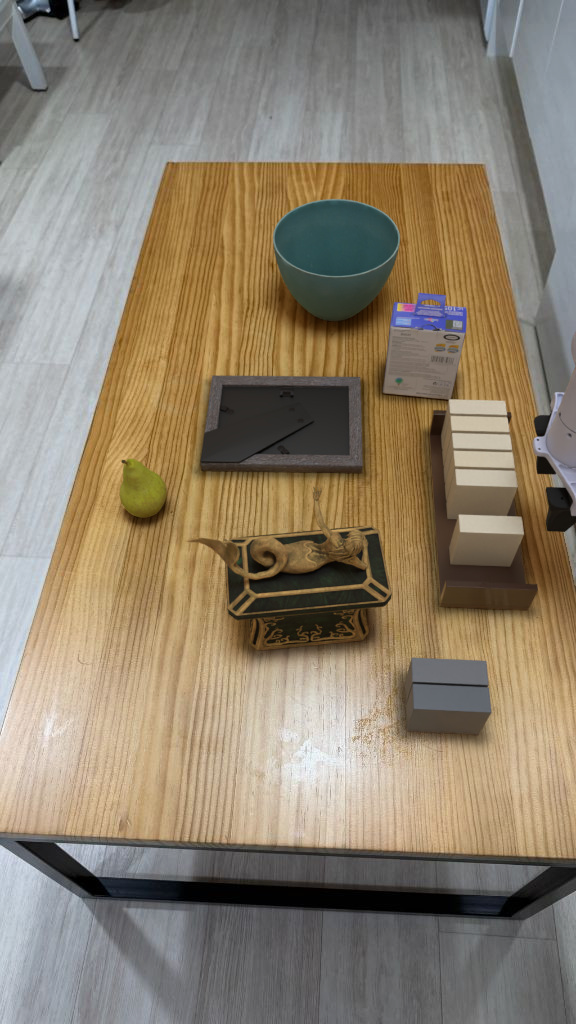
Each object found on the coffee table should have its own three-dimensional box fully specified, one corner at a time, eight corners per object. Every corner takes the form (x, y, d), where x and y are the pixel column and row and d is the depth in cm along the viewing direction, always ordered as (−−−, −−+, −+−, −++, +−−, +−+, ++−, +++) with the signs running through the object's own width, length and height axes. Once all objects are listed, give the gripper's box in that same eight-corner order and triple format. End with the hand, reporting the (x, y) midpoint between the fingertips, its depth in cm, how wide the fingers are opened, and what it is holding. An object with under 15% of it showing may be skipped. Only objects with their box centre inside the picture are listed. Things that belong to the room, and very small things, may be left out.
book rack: (527, 610, 85) (538, 590, 81) (439, 607, 86) (446, 586, 82) (503, 436, 100) (511, 411, 96) (428, 434, 101) (433, 409, 97)
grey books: (479, 734, 77) (491, 712, 72) (406, 731, 78) (413, 708, 72) (474, 685, 80) (486, 660, 75) (404, 682, 81) (411, 657, 75)
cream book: (510, 566, 88) (524, 534, 82) (450, 564, 88) (460, 531, 82) (507, 549, 89) (521, 516, 83) (449, 547, 89) (458, 514, 84)
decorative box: (371, 570, 89) (385, 467, 73) (385, 644, 83) (403, 550, 67) (203, 585, 88) (180, 485, 72) (206, 661, 83) (181, 570, 66)
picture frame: (202, 470, 98) (361, 473, 97) (200, 461, 96) (362, 463, 96) (213, 383, 107) (359, 384, 106) (212, 373, 106) (360, 374, 105)
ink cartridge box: (454, 373, 107) (472, 291, 95) (452, 401, 104) (471, 320, 92) (385, 367, 108) (394, 285, 97) (382, 394, 105) (391, 313, 93)
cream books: (504, 521, 91) (518, 487, 86) (447, 519, 92) (456, 485, 86) (493, 437, 99) (505, 400, 94) (440, 435, 100) (448, 399, 94)
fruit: (165, 485, 97) (149, 423, 87) (174, 520, 94) (159, 460, 84) (121, 496, 96) (100, 435, 86) (129, 532, 93) (108, 473, 83)
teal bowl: (415, 301, 117) (426, 232, 107) (339, 361, 109) (342, 293, 99) (329, 253, 124) (331, 184, 114) (251, 307, 117) (246, 238, 107)
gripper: (536, 360, 75) (506, 447, 86) (557, 474, 66) (521, 554, 77) (608, 362, 74) (568, 449, 85) (638, 477, 66) (590, 557, 77)
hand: (550, 499), depth 81 cm, fingers open, 7 cm apart
